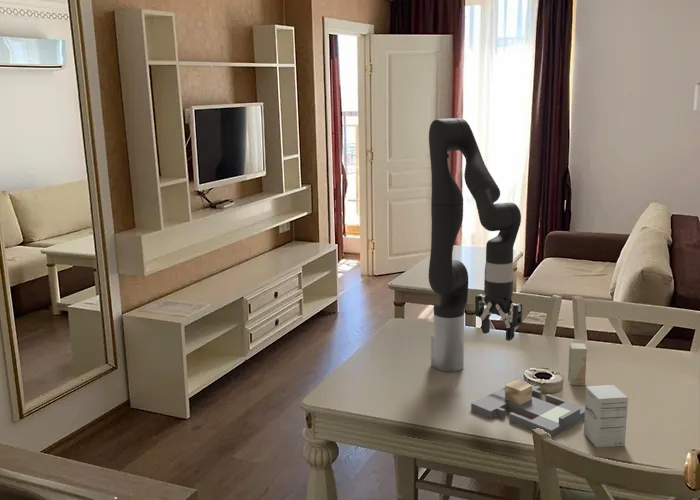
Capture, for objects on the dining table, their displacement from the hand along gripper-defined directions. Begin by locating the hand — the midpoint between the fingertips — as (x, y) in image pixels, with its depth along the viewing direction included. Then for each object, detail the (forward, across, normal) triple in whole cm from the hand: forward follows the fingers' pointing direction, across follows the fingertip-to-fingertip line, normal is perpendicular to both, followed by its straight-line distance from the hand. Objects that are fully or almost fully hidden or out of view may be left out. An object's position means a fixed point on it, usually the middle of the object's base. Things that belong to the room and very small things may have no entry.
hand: (497, 336), depth 187 cm
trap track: (+18, -12, 0) cm, 22 cm away
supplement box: (+18, -32, 0) cm, 37 cm away
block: (+16, -8, 0) cm, 18 cm away
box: (+18, -10, -25) cm, 32 cm away
